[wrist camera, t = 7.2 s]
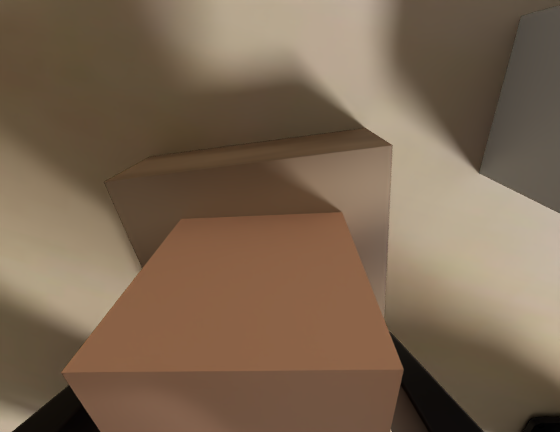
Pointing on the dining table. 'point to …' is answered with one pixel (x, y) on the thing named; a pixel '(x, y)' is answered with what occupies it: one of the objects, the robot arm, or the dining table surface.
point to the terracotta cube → (244, 335)
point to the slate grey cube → (529, 114)
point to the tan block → (265, 190)
